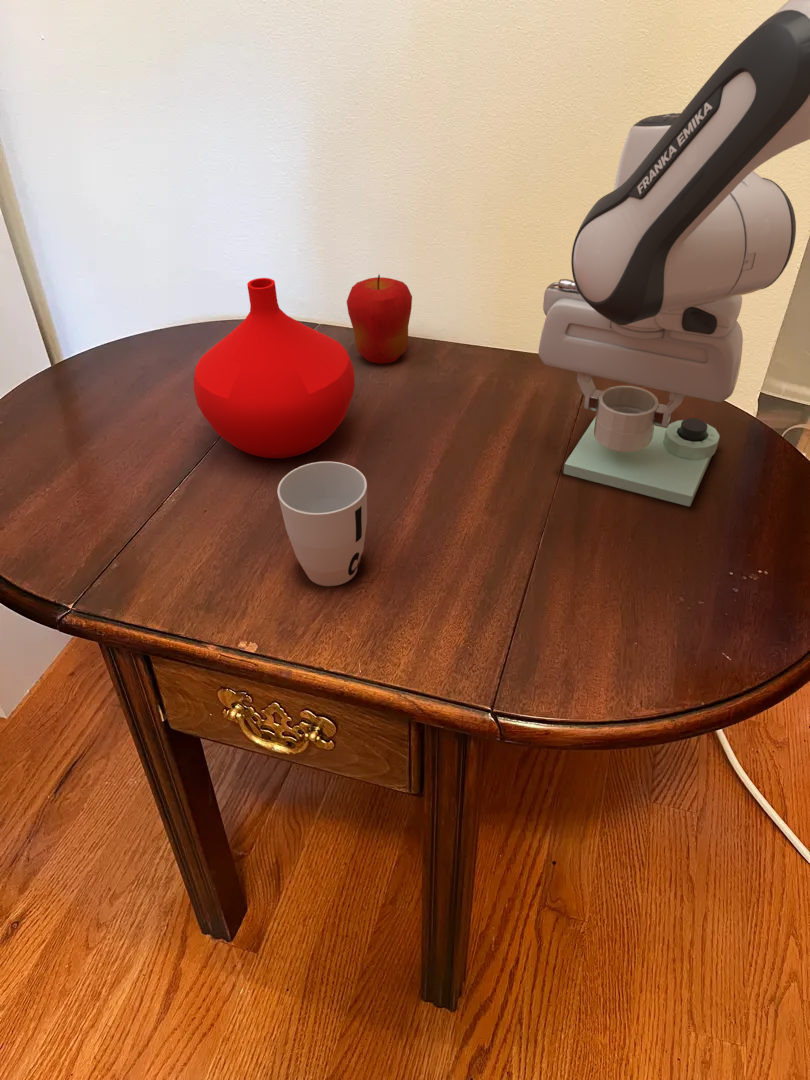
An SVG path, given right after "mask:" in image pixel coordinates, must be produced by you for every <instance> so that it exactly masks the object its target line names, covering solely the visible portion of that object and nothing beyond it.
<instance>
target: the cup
mask: <svg viewBox="0 0 810 1080" xmlns="http://www.w3.org/2000/svg"><path fill="white" fill-rule="evenodd" d="M367 483H368V482H367V478H366V477H365V475H364V473H363V472H362V471H361V470H359V469H358V468H357V467H354V466H352V465H349V464H347V463H344V462H339V461H316V462H311V463H307V464H303V465H301V466H298V467H297V468H294V469H292V470H290V472H288V473H287V474H286V475H284V476H283V477H282V479H281V480H280V481H279V483H278V486H277V490H276V491H277V496H278V497H277V498H278V501H279V506H280V510H281V514H282V519H283V522H284V527H285V531H286V533H287V536H288V539H289V542H290V544H291V547H292V549H293V552H294V554H295V557H296V559H297V561H298V563H299V564H300V566H301V568H302V569H303V571H304V572H305V574H306V576H307V577H308V579H309V580H310V581H311V582H313V583H314V584H316V585H319V586H323V587H335V586H340V585H344V584H346V583H348V582H349V581H350V580H352V579H353V578H355V575H356V574H357V571H358V569H359V566H360V562H361V560H362V559H361V558H362V556H363V553H364V548H365V540H366V532H367V526H368V525H367V524H368V484H367Z"/></svg>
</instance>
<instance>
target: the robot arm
mask: <svg viewBox="0 0 810 1080" xmlns="http://www.w3.org/2000/svg"><path fill="white" fill-rule="evenodd" d="M809 140H810V0H787V1H786V2H785V3H784V4H783V5H782V6H781V7H780V8H779V9H778V10H776V12H774V13H773V14H772V15H771V16H769V18H767V19H765V20H764V21H763V22H762V23H761V24H760V25H759V26H757V27H756V28H755V30H753V31H752V32H751V33H750V34H749V35H748V36H747V37H745V39H743V41H741V42H740V43H739V44H738V45H737V46H736V48H735V49H733V50H732V52H731V53H730V54H729V55H728V56H727V57H726V58H725V60H724V61H722V63H721V64H720V65H719V66H718V68H717V69H716V70H715V71H714V72H712V74H711V75H710V77H708V79H707V80H706V81H705V82H704V84H703V85H702V86H701V88H700V89H699V90H698V91H697V93H696V94H695V95H694V96H693V98H692V99H691V100H690V101H689V102H688V104H687V105H686V107H684V109H683V110H682V112H678V113H677V112H673V113H672V112H671V113H664V114H658V115H651V116H648V117H645V118H642V119H640V120H639V121H638V122H636V123H635V124H633V125H632V126H631V127H630V129H629V130H628V133H627V136H626V138H625V141H624V143H623V147H622V150H621V153H620V158H619V161H618V165H617V171H616V176H615V179H614V185H613V190H612V191H611V192H609V193H606V194H605V195H603V196H602V197H601V198H599V199H598V200H597V201H596V202H595V203H594V204H593V206H592V207H591V209H589V211H588V212H587V214H586V215H585V217H584V219H583V221H582V222H581V224H580V227H579V228H578V231H577V233H576V235H575V238H574V241H573V245H572V249H571V259H570V260H571V274H572V279H568V278H560V279H559V280H558V281H554V282H552V283H550V284H549V285H548V286H547V287H546V288H545V290H544V293H543V301H542V303H543V305H542V309H543V313H544V315H545V319H544V323H543V326H542V330H541V335H540V340H539V345H538V352H537V353H538V357H539V359H540V361H541V362H542V364H543V365H544V366H546V367H550V368H555V369H560V370H563V371H564V370H565V371H570V372H574V373H576V382H577V384H578V386H579V388H580V390H581V392H582V394H583V396H584V402H583V409H585V410H589V411H594V412H597V405H598V398H599V395H600V394H601V392H602V391H603V390H600V389H597V388H596V385H595V382H594V380H593V377H598V378H602V379H607V380H611V381H617V382H621V383H624V384H625V383H626V384H630V385H634V386H638V387H645V388H649V389H654V390H659V391H663V392H667V393H668V392H669V393H668V394H669V395H668V400H669V402H667V404H664V403H659V405H658V408H657V409H656V410H655V413H654V420H653V424H655V426H659V427H664V428H667V427H668V425H669V424H670V420H671V418H672V413H673V412H674V411H675V410H676V409H677V408H678V407H679V406H680V405H682V404H683V401H684V400H685V398H686V397H690V398H691V397H692V398H696V399H700V400H706V401H712V402H715V403H723V402H724V401H726V400H728V399H729V398H730V397H731V396H732V395H733V393H734V391H735V388H736V385H737V383H738V379H739V374H740V369H741V365H742V363H741V362H742V355H743V341H744V336H743V330H742V327H741V325H740V323H739V322H738V321H737V320H738V318H739V316H740V313H741V309H742V305H743V296H745V295H748V294H753V293H755V292H758V291H760V290H764V289H767V288H768V287H770V286H771V285H773V284H774V283H775V282H776V281H777V280H778V279H779V278H780V276H781V275H782V274H783V272H784V271H785V269H786V268H787V266H788V264H789V261H790V259H791V257H792V254H793V251H794V247H795V243H796V234H797V221H796V215H795V210H794V205H793V204H792V202H791V200H790V198H789V197H788V194H787V193H786V192H785V191H784V190H783V188H782V187H781V186H779V184H777V183H776V181H773V180H772V179H769V178H766V177H762V176H760V175H759V174H757V173H756V172H755V170H756V169H758V168H759V167H760V166H762V165H763V164H765V163H766V162H768V161H769V160H771V159H773V158H775V157H776V156H778V155H779V154H781V153H783V152H785V151H787V150H790V149H791V148H794V147H795V146H798V145H799V144H802V143H804V142H807V141H809Z"/></svg>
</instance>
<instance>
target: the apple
mask: <svg viewBox="0 0 810 1080" xmlns="http://www.w3.org/2000/svg"><path fill="white" fill-rule="evenodd" d="M412 307H413V295H412V293H411V290H410V289H409V287H408V285H407V284H406V283H405V282H404V281H402V280H398V279H394V278H390V277H381V275H380V274H378V276H376V277H369V278H366V279H363V280H360V281H357V282H356V283H355V284H354V285H352V286H351V289H350V291H349V293H348V297H347V299H346V308H347V313H348V317H349V321H350V323H351V327H352V330H353V335H354V342H355V348H356V350H357V352H358V354H360V355H361V357H362V358H364V359H365V360H366V361H368V362H370V363H373V364H378V365H379V364H381V365H384V364H385V365H386V364H391V363H393V362H396V361H397V360H398V359H399V358H400V357H401V356H402V355H403V354H404V353H405V352H406V351H407V349H408V346H409V325H410V319H411V314H412Z"/></svg>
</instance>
